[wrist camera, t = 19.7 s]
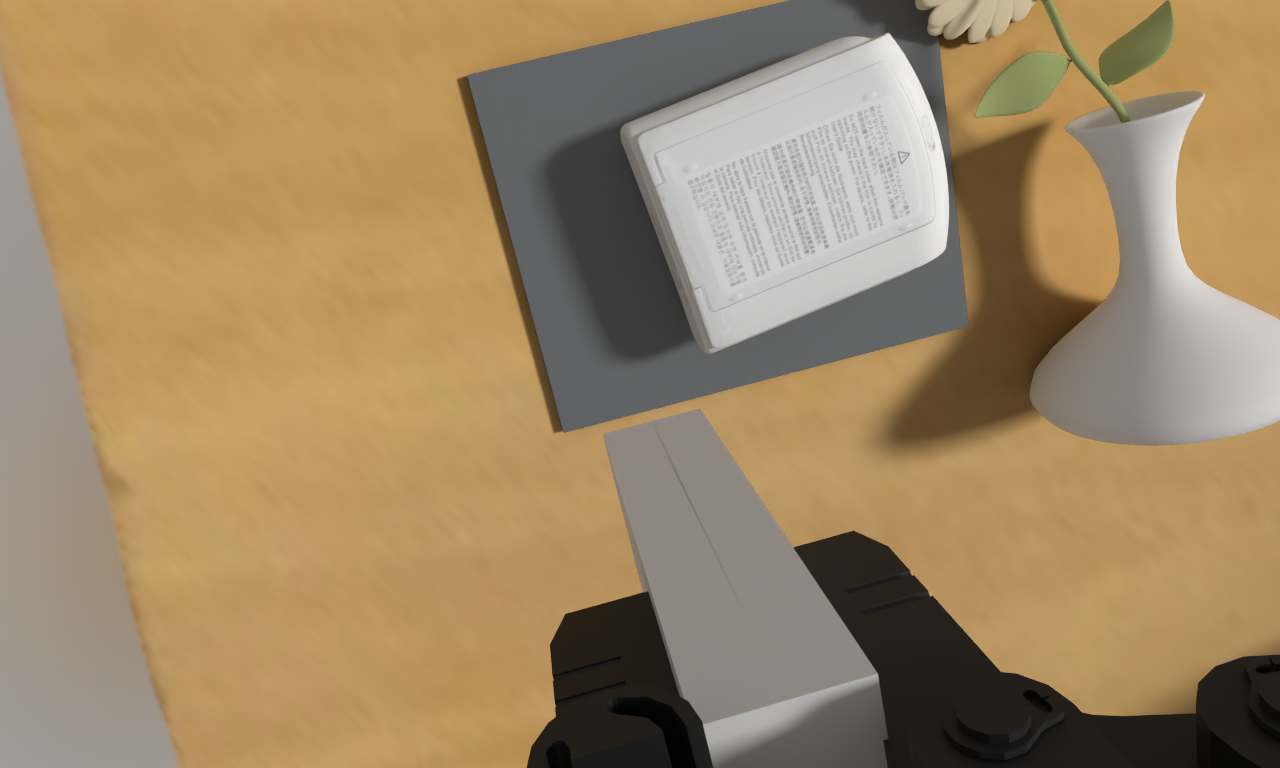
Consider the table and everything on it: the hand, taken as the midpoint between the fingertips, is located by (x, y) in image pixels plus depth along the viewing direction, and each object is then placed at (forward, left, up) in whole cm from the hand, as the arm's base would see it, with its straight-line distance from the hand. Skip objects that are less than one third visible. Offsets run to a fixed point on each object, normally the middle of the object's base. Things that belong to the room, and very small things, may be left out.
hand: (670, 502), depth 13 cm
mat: (-8, 0, -27) cm, 28 cm away
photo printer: (-4, 0, -24) cm, 24 cm away
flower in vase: (-24, +13, -22) cm, 35 cm away
